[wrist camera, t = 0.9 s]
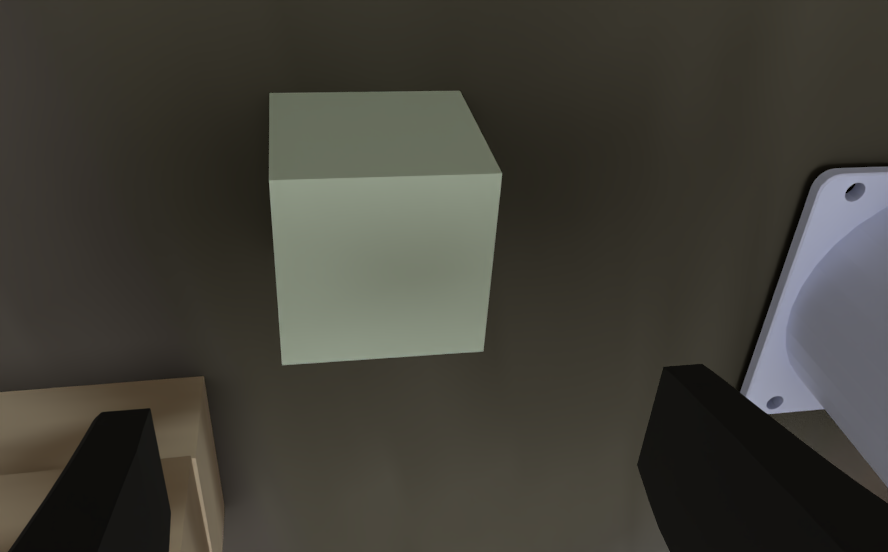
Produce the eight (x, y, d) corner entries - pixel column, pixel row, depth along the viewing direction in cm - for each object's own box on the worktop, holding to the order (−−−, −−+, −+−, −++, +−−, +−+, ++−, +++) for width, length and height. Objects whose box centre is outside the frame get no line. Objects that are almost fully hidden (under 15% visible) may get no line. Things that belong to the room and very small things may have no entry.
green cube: (459, 89, 17) (502, 173, 14) (448, 247, 20) (483, 351, 16) (269, 91, 17) (269, 180, 13) (280, 255, 19) (282, 365, 16)
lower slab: (204, 371, 21) (195, 457, 18) (225, 503, 23) (220, 594, 21) (-8, 387, 20) (-47, 481, 17) (39, 522, 23) (12, 619, 20)
